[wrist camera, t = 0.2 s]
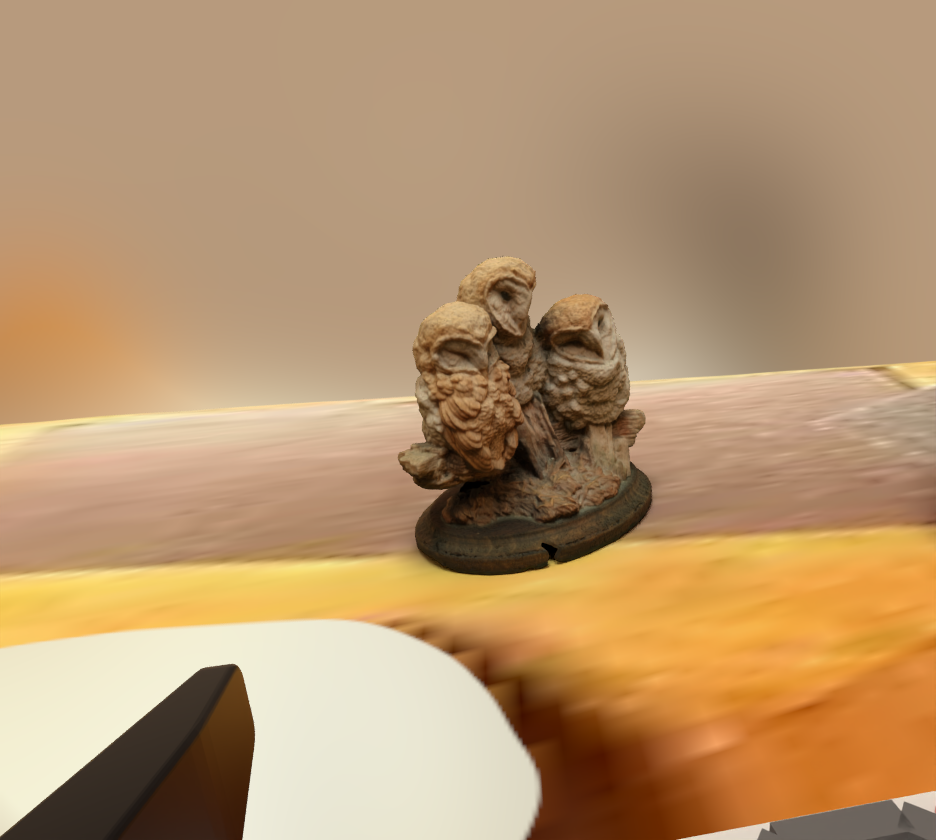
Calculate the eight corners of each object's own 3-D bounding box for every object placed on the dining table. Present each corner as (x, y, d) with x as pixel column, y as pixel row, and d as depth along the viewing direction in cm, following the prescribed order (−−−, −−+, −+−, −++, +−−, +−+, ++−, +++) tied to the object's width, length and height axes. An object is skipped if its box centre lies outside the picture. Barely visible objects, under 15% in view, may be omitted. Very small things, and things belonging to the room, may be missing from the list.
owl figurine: (477, 617, 38) (436, 293, 32) (370, 540, 47) (323, 278, 41) (696, 500, 47) (695, 234, 42) (571, 455, 56) (556, 232, 51)
